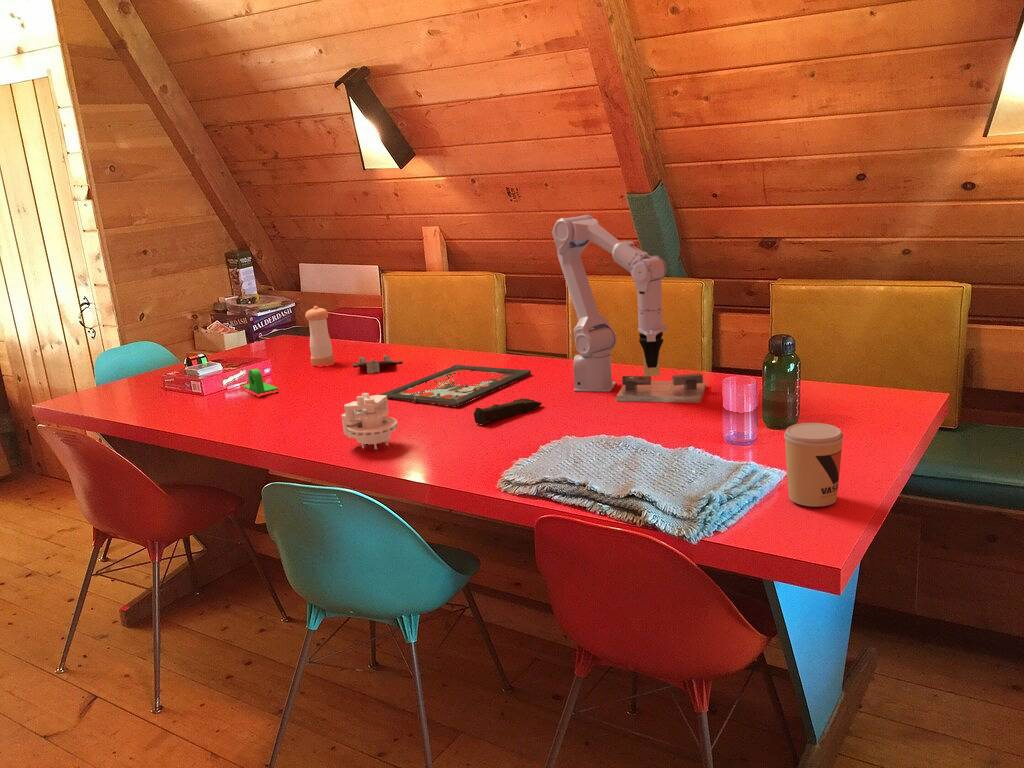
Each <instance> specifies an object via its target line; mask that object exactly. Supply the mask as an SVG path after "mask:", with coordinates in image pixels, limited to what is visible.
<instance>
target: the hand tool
mask: <svg viewBox="0 0 1024 768" xmlns="http://www.w3.org/2000/svg"><path fill="white" fill-rule="evenodd" d="M542 404H543V403H542V402H540V401H536V400H534V399H529V398H519V399H514V400H513V401H509V402H505V403H501V404H497V403H495V404H493V405H491V406H488V407H484V408H481V407H476V408H475V410H474V412H473V418H474V422H475V424H477V423H478V424H482V425H484V426H485V425H486V424H487V423H489V422H493V421H498V420H501V418H502V419H504V417H505V418H508V417H507V416H509V417H512V416H515V415H517V413H518V414H521V413H520V412H522V413H528V412H527V411H529V412H531V411H533V410H535V409H537V408H538V407H540V406H541V405H542ZM530 410H531V411H530ZM514 414H515V415H514ZM511 415H512V416H511ZM497 419H498V420H497ZM478 424H477V425H478ZM482 425H481V426H482Z"/></svg>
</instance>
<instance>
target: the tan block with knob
mask: <svg viewBox="0 0 1024 768" xmlns="http://www.w3.org/2000/svg"><path fill="white" fill-rule="evenodd" d="M642 351H643V350H642ZM660 366H661V365H660V355H659V356H658V363H657V367H656V368H648V367H647V363H646V359H645V354H644V351H643V374H644V375H643V376H651V377H652V376H654V377H655V376H661V370H660V368H661V367H660Z"/></svg>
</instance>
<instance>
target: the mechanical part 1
mask: <svg viewBox="0 0 1024 768" xmlns="http://www.w3.org/2000/svg"><path fill="white" fill-rule="evenodd" d="M247 377H248V384H243V385H242V386H243V387H245V388H247V389H249V390H251V391H253V392H255V393H257V394H260V393H265V392H269V391H274V390H278V391H279V388H278V387H277V386H274V385H273V384H270V383H267V382H264V381H263V375H262V372H261V371H260V370H259V369H258V368H253V369H249V370H248V371H247Z"/></svg>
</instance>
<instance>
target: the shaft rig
mask: <svg viewBox="0 0 1024 768" xmlns="http://www.w3.org/2000/svg"><path fill="white" fill-rule="evenodd" d="M671 377H672V380H652V376H645V375H623V376H622V379H621V382H622V386H621V388H620V390H619V391H618V393H617V394H616V397H615V398H616V402H624V403H625V402H627V403H628V402H629V403H637V402H638V403H686V404H687V403H690V404H691V403H693V404H697V403H698V404H699V403H701V402H702V399H703V396H704V392H705V389H706V385H707V384H706V380H704V377H703V374H702V373H701V372H700V373H698V372H697V373H689V374H687V373H686V374H678V375H676V374H675V375H672V376H671Z"/></svg>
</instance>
